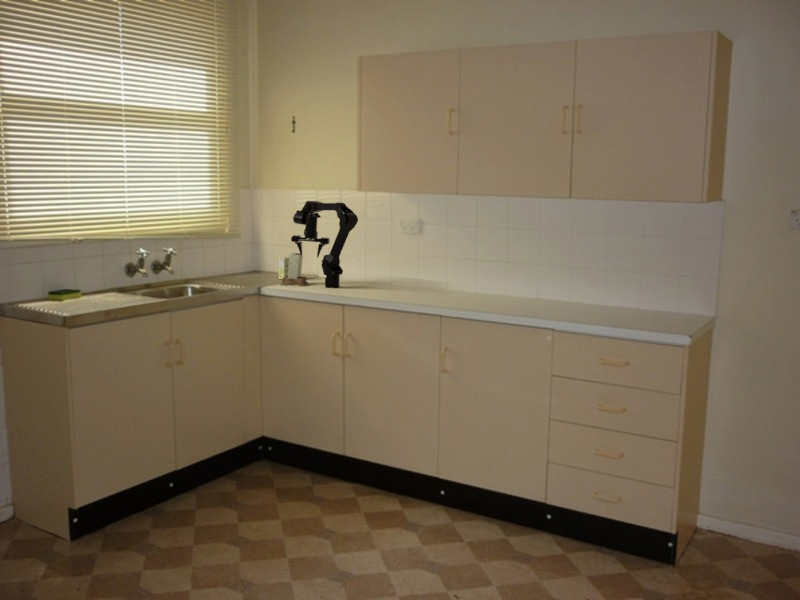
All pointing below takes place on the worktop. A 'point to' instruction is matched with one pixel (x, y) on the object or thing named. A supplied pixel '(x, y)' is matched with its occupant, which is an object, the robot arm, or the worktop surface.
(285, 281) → the brown wooden frame
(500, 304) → the worktop surface
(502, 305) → the worktop surface
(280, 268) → the box
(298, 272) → the tin
